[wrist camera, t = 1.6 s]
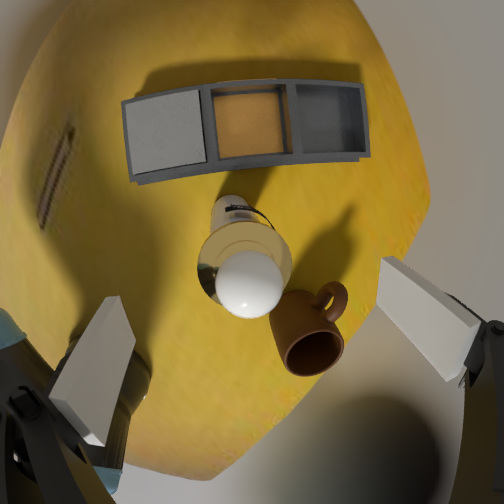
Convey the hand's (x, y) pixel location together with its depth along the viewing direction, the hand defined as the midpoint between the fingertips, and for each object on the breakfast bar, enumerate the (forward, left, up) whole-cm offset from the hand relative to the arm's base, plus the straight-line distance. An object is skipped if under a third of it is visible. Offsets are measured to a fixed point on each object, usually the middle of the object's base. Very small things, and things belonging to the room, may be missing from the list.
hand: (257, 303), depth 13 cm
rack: (+3, +10, -20) cm, 23 cm away
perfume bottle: (0, 0, -20) cm, 20 cm away
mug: (+8, -13, -20) cm, 25 cm away
